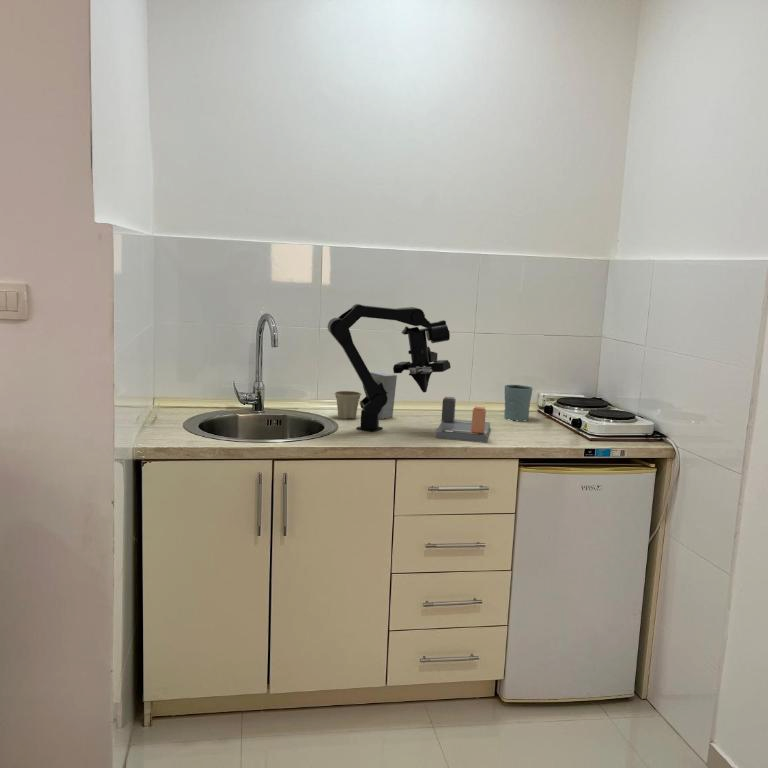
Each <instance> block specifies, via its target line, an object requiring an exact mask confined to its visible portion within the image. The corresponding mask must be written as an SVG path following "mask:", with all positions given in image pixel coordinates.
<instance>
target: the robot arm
mask: <svg viewBox="0 0 768 768" xmlns="http://www.w3.org/2000/svg"><path fill="white" fill-rule="evenodd" d="M361 318H369V319H370V318H371V319H380V320H389V321H397V322H400V323H402V324H406V325H409V326H413V327H408V326H406V325H405V326H404V328H403V330H402V331H401V334H402V335H404V336H405V335H407V337H408V344H409V350H408V351H407V352H408V355H410V357H411V361H400V362H397V363H395V364H394V365H393V367H392V369H393V370H392V372H393V374H402V373H403V372H404V371H409V373H408V376H411V377H412V378H413V381H415V383H416V384H417V386H419V388H420V390H421V392H422V393H426V392H427V390H428V386H429V382H430V378H431V375H432V374H433V373H444V372H445V371H447V370H450V369H451V362H450V361H449V360H448V359H443V360H442V359H439V360H438V353H437V352H435V351H431V348H430V346H428V342H430V343H431V344H436V343H442V342H448V341H450V337H451V335H450V333H451V332H450V330H449V327H448V325H447V321H446V319H445V320H444V319H443V320H439V321H434V322H430V321H429V320H428V319H427V317H426V314H425V313H424V310H422V309H421V308H417V307H414V306H408V307H398V308H394V307H393V308H391V307H382V306H381V307H380V306H373V305H365V304H360V303H355V304H353V305H352V306H351V307H350V308H349V309H348V310H346V311H344V313H342V314H340V315H339V316H338V317H334V318H331V319H330V320H329V321H328V323H327V330H328V331H327V332H328V333H330V334H331V336H332V337H333V338H334V340H335V341H336V342H337V343H338V345H339V346H341V348H342V349H343V352H344V353H345V355H346V357H347V359H348V360H349V363H350V364H351V366H352V367H353V369H354V372H355V373H356V374H357V377H358V378H359V380H360V382H361V383H362V388H363V390H364V394H365V397H363V398H362V399H361V400H359V407H360V408H361V412H360V426H357V427H356V430H362V431H366V432H373V433H374V432H376V431H379V430H382V429H383V427H382V426H380V419H379V413H380V411H381V409H382V407H383V406H384V405H385V404H386V403H387V400H388V398H387V395H386V394H388V393H387V392H386V391H385V389H384V387H383V384H382V382H380V381H379V380H377V381H376V382H375V380H374V379H373V378H372V376H371V374H370V372H371V371H370V370H369V369H368V367H367V365H366V363H365V362H364V359H363V358H362V356H361V355H360V352H359V350H358V349H357V347H356V346H355V343H354V341H353V337H352V335H351V334H352V333H351V331H350V328H351V327H352V326H354V325H355V324H356V322H358V320H360V319H361ZM418 326H419V327H422V328H419V327H418Z"/></svg>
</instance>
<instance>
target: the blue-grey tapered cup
mask: <svg viewBox="0 0 768 768" xmlns="http://www.w3.org/2000/svg"><path fill="white" fill-rule="evenodd" d="M532 394H533V386H528V385H522V384H506V385H504V412H503V413H504V415H503V416H504V419H505V418H506V419H505V420H507V419H510V420H518V421H517V422H524V421H523V420H527V421H528V420H529V417H530V407H531V404H530V403H531V400H532ZM510 420H509V421H510Z"/></svg>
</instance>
